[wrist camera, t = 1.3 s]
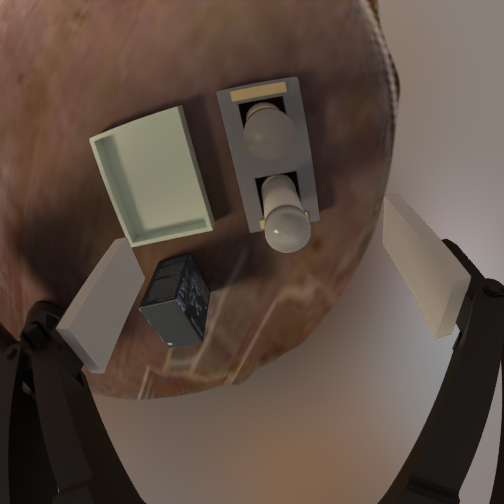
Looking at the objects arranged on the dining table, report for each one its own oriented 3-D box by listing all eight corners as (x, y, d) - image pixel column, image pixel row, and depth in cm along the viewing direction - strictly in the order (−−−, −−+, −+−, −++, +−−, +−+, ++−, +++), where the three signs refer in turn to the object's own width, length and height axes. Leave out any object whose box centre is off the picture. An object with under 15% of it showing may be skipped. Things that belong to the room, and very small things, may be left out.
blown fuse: (250, 138, 34) (249, 164, 23) (242, 105, 31) (238, 115, 21) (284, 132, 33) (300, 155, 23) (278, 98, 31) (291, 105, 21)
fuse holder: (316, 213, 39) (320, 221, 37) (250, 225, 40) (250, 234, 38) (294, 76, 29) (297, 76, 27) (217, 91, 30) (215, 91, 28)
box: (211, 292, 46) (203, 343, 37) (179, 299, 47) (166, 349, 38) (191, 251, 42) (176, 300, 33) (157, 260, 43) (136, 309, 34)
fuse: (264, 205, 38) (269, 256, 28) (258, 175, 36) (261, 216, 26) (296, 199, 38) (313, 248, 28) (291, 169, 36) (308, 207, 25)
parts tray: (214, 221, 39) (212, 230, 37) (136, 238, 41) (130, 247, 39) (182, 104, 31) (177, 106, 29) (97, 134, 32) (89, 138, 30)
